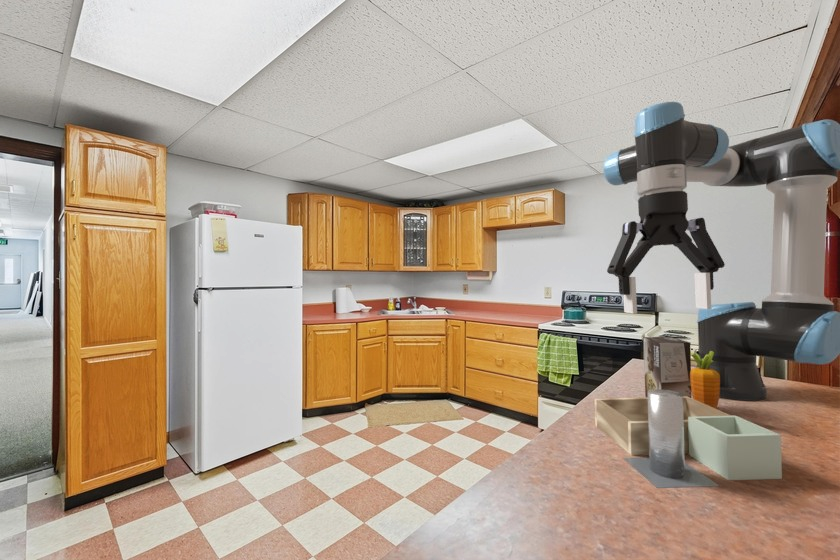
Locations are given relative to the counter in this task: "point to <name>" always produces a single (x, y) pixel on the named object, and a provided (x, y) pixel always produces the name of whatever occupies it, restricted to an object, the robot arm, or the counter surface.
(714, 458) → the square storage bin
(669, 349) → the coffee box
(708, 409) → the crate
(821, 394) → the counter surface
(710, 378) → the carrot
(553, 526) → the counter surface
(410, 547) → the counter surface
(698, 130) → the robot arm
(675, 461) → the tin can
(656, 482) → the coaster
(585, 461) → the counter surface
